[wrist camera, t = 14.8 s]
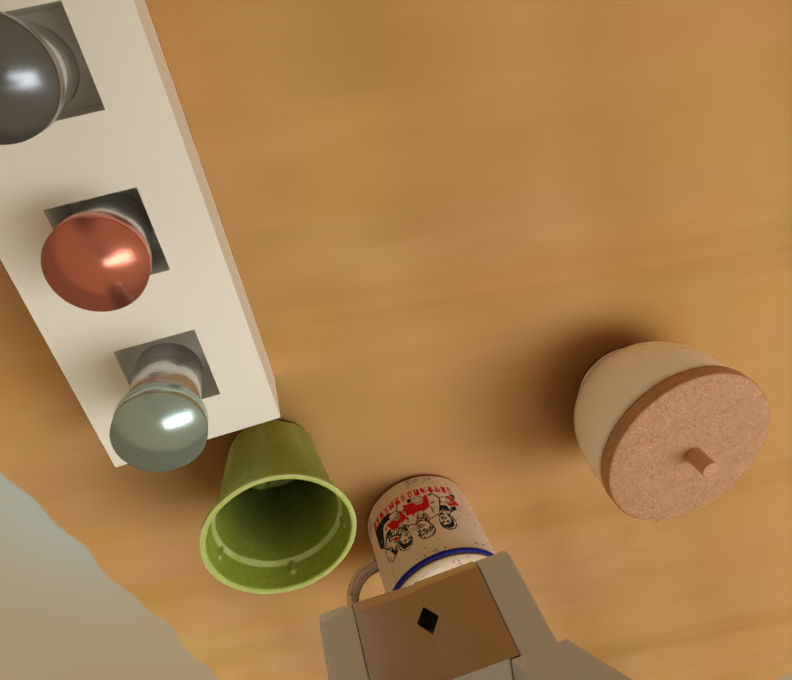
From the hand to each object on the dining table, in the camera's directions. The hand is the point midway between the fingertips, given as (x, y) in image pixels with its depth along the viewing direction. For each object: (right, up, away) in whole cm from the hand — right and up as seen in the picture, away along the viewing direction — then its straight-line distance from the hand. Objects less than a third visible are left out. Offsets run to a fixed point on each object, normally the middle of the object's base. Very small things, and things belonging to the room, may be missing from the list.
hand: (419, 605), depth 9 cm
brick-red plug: (-15, +10, +23) cm, 29 cm away
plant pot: (-10, -4, +35) cm, 36 cm away
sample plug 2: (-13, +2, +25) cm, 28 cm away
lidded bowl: (+18, 0, +41) cm, 44 cm away
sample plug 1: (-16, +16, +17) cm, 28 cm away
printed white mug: (0, -11, +41) cm, 43 cm away
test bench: (-16, +11, +25) cm, 32 cm away
